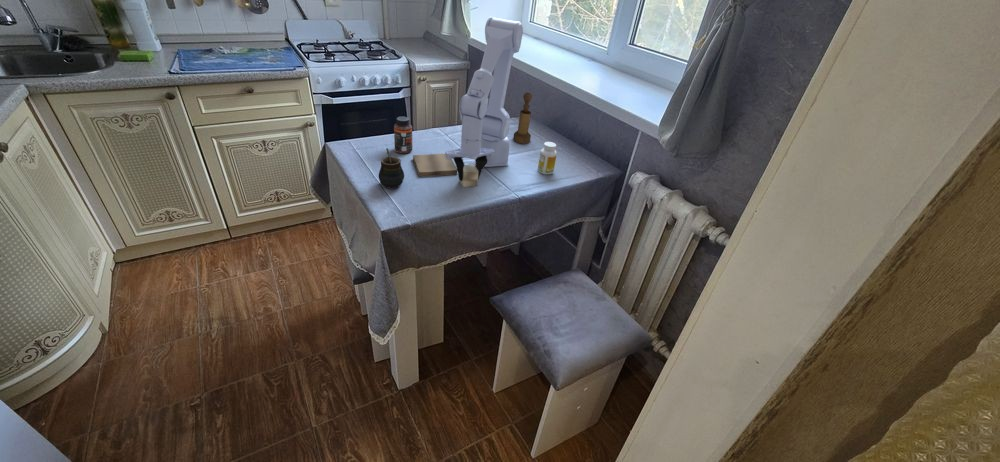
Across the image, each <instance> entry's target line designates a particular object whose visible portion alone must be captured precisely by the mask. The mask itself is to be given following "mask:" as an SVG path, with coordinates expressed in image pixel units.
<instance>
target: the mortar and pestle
mask: <svg viewBox="0 0 1000 462" xmlns="http://www.w3.org/2000/svg"><path fill="white" fill-rule="evenodd" d="M522 98H523V100H524V104H523V109H522V110H520V111H519V118H518V119H519V120H518V125H517V126H518V127H517V130H516V131H515V132H514V133H513V137H512V139H513V141H514V142H516V143H518V144H524V145H525V144H526V145H527V144H529V143H530V142H531V137H532V135H531V134H530V132H529V129H530V128H529V127H530V121H531V117H532V116H531V114H532V112H531V111H529V110H530V109H529V108H530V107H531V106H530V104H529V103H530V101H531V100H532V98H533V95H532V93H531V92H525V93H524V94H523V97H522Z"/></svg>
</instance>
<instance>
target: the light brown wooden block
mask: <svg viewBox="0 0 1000 462" xmlns="http://www.w3.org/2000/svg"><path fill="white" fill-rule="evenodd" d="M445 155H446V153H434V154H432V153H431V154H414V155H412V160H413V163H414V165H415V168H416V171H417V174H418V176H419V177H436V176H449V175H450V176H451V175H452V176H453V175H458V170H457V167H456V164H455V161H454V159H450V160H447V159H446V157H445Z"/></svg>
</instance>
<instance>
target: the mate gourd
mask: <svg viewBox="0 0 1000 462" xmlns="http://www.w3.org/2000/svg"><path fill="white" fill-rule="evenodd" d="M385 149H386V154H387V156H385V157H383V158H381V159H380V168H379V170H378V171H379V172H378V180H379V183H380V184H381V186H382V187H384V188H387V189H396V188H399V186H401V185H402V184H403V182H404V179H405V172H404V170H403V167H402V163H401V159H400V158H399V157H396V156H391V154H390V151H389V148H385Z"/></svg>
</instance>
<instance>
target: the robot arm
mask: <svg viewBox="0 0 1000 462" xmlns="http://www.w3.org/2000/svg"><path fill="white" fill-rule="evenodd" d="M523 27H524V26H523V24H522V22H521V21H515V20H509V19H503V18H500V17H499V18H497V17H494V16H489V18H488V19H487V20H486V22H485V27H484V37H485V42H486V46H485V49H484V53H483V57H482V61H481V64H480V68H479V69H477V70H475V71H474V73H473V75H472V79H471V81H470V84H469V86H468V89H467V92H466V94H465V95H463V96H462V97H461V98H460V101H459V105H458V112H459V114H460V118H459V119H460V122H461V136H460V138H461V139H460V148H456V149H451V150H445V154H446V155H445V157H446V159H447V160H450V159H452V160H453V162H454V164H455V166H456V168H457V176H458V180H459V181H462V180H463V168H464V165H465V163H464V158H465V159H470V160H474V161H475V163H474V165H475V166H476V168H477V170H478V171H479V172H478V180H479V179H480V176H481V173H482V171H483V169H484V168H489V167H493V168H494V167H505V166H506V167H508V166H509V156H510V140H509V137H508V134H509V132H510V128H511V127H510V126H511V125H510V121H511V116H510V115H509V113H508V111H506V109H505V108H504V107H505V106H504V105H505V101H506V96H507V95H506V94H507V90H508V83H509V78H510V73H511V68H512V67H511V66H512V62H513V58H514V54H516V53H519V52H520V48H521V45H522V40H523V36H524V35H523V34H524V30H523V29H524V28H523ZM488 97H489V98H488Z"/></svg>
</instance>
